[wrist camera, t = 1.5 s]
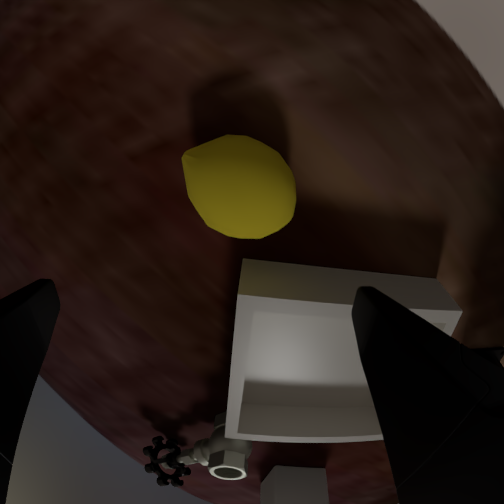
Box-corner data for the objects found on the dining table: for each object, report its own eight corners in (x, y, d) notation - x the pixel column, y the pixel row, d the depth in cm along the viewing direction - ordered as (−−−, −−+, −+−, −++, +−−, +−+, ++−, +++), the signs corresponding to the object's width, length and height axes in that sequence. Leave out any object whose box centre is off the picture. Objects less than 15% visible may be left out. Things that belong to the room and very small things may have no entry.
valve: (227, 396, 28) (149, 426, 32) (220, 454, 22) (135, 473, 26) (268, 427, 30) (189, 452, 34) (267, 480, 24) (181, 496, 28)
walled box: (436, 278, 22) (462, 311, 18) (377, 404, 28) (386, 439, 24) (242, 258, 22) (237, 294, 18) (229, 399, 28) (224, 437, 24)
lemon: (308, 169, 20) (335, 199, 15) (259, 234, 22) (268, 279, 17) (214, 106, 17) (210, 113, 13) (167, 179, 19) (148, 212, 14)
